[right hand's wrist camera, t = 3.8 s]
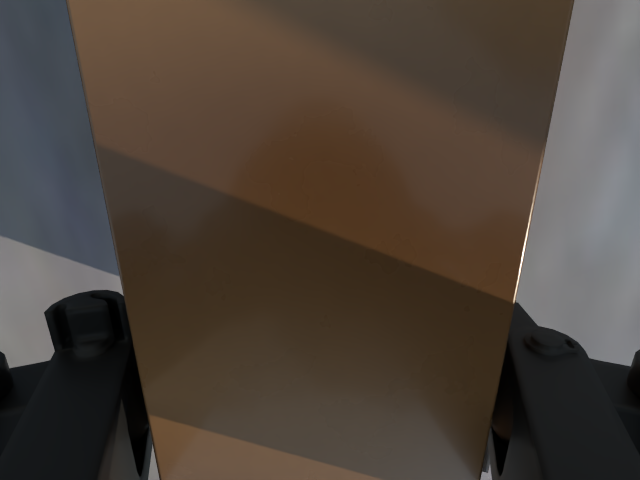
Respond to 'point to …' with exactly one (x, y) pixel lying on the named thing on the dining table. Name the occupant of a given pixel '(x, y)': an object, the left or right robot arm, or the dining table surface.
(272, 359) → the bar
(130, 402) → the right robot arm
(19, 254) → the dining table surface
